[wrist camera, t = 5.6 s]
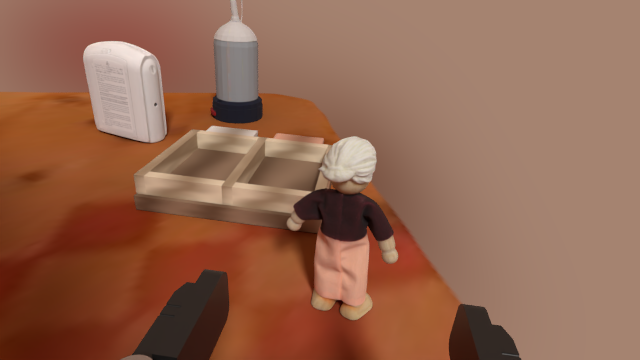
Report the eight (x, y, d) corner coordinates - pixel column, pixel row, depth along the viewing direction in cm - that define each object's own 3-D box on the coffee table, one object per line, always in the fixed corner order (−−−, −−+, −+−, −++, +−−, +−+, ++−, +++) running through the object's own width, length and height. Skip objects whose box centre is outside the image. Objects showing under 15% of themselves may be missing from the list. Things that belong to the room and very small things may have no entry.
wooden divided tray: (136, 209, 37) (130, 176, 35) (202, 148, 51) (200, 123, 49) (320, 233, 35) (323, 201, 34) (335, 163, 50) (338, 138, 48)
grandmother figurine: (386, 291, 29) (417, 136, 23) (384, 330, 26) (419, 160, 20) (290, 272, 30) (296, 120, 25) (275, 307, 27) (279, 140, 21)
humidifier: (202, 116, 63) (189, -63, 51) (235, 105, 69) (230, -56, 58) (240, 126, 59) (236, -62, 48) (271, 114, 66) (274, -54, 55)
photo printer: (173, 136, 54) (162, 45, 48) (150, 146, 50) (137, 48, 45) (116, 123, 57) (101, 35, 51) (92, 131, 53) (72, 38, 48)
